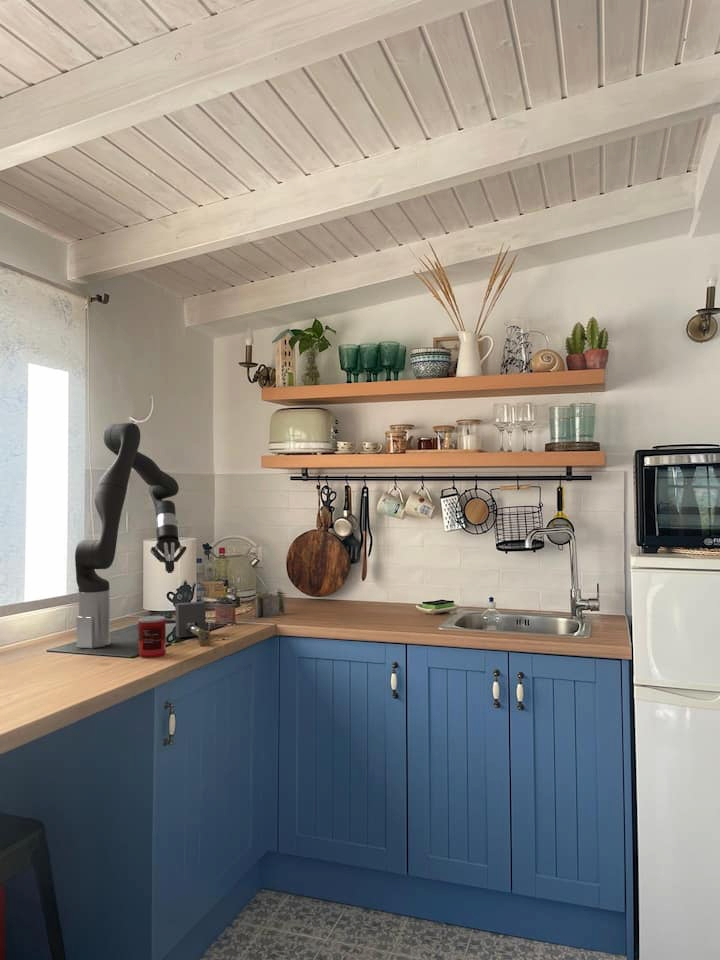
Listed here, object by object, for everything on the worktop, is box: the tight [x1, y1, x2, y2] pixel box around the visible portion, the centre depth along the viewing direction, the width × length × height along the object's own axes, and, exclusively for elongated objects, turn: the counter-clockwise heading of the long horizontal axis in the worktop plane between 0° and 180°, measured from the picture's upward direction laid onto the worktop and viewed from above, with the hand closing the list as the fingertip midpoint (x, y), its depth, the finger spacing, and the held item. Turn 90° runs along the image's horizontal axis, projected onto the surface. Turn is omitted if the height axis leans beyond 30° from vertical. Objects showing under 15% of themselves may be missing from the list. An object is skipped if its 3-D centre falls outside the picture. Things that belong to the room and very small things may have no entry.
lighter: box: [214, 596, 237, 626], centre depth 266 cm, size 8×3×10 cm, turn 74°
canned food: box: [137, 615, 167, 659], centre depth 218 cm, size 8×8×11 cm
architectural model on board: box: [254, 592, 286, 618], centre depth 284 cm, size 11×3×10 cm, turn 121°
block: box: [174, 600, 207, 638], centre depth 245 cm, size 4×9×11 cm, turn 118°
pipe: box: [170, 623, 226, 647], centre depth 240 cm, size 23×18×4 cm
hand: (170, 572), depth 260 cm, fingers closed
